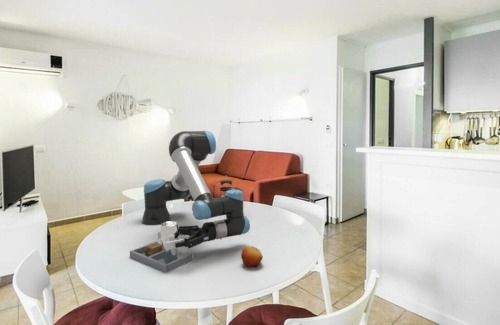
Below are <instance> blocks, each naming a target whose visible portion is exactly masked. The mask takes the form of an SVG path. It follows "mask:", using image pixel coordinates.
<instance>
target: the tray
mask: <svg viewBox="0 0 500 325" xmlns="http://www.w3.org/2000/svg"><path fill="white" fill-rule="evenodd" d="M154 242H156V243H159V242H158V241H154ZM154 242H152V243H154ZM178 255H179V259H177V260H174V261H172V262H170V263H168V264H165V263H163V261H164V250H163V251H161V252H159V253H156V254H154V255H151V256H149V257H148V256H145V245H142V246H140V247H137V248H134V249H132V250H129V258H131V259H134V260H136V261H137V262H140V263H142V264H145V265H146V266H149V267H151V268H153V269H157V270H159V271H161V272H163V273H166V274H168V273H169V272H171V271H173V270H175V269H177V268H180V267H182V266H183V265H185V264H187V263H189V262H192V261H193V260H196V258H195V257H193V253H191V252H190V253H188V254H183V253H181V252H178Z"/></svg>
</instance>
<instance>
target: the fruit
mask: <svg viewBox="0 0 500 325" xmlns="http://www.w3.org/2000/svg"><path fill="white" fill-rule="evenodd" d="M240 256H241V257H240V258H241V262H242V263H243V264H242V265H243V268H245V267H249V268H257V267H258V266H259V265H260V264H261V263H262V261H263V253H262V252H261V250H260V249H259V248H257V246H256V247H255V246H253V245H250V246H248V245H247V246H245V247H243V249H242V251H241V255H240Z"/></svg>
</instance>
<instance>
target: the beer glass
mask: <svg viewBox="0 0 500 325" xmlns="http://www.w3.org/2000/svg"><path fill="white" fill-rule="evenodd" d="M179 226H180V224H179V222H178V221H174V220H173V221H172V220H170V221H168V222H164V223H162V224H160V231H161V238H160V241H161V244H162V246H163V250H164V261H163V263H165V264H168V263H170V262H172V261H174V260H177V259H179V255H178V253H179V248H175V249H170V250H166V249H165V242H170V241H175V240H180V237H181V235H180V231H179Z"/></svg>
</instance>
